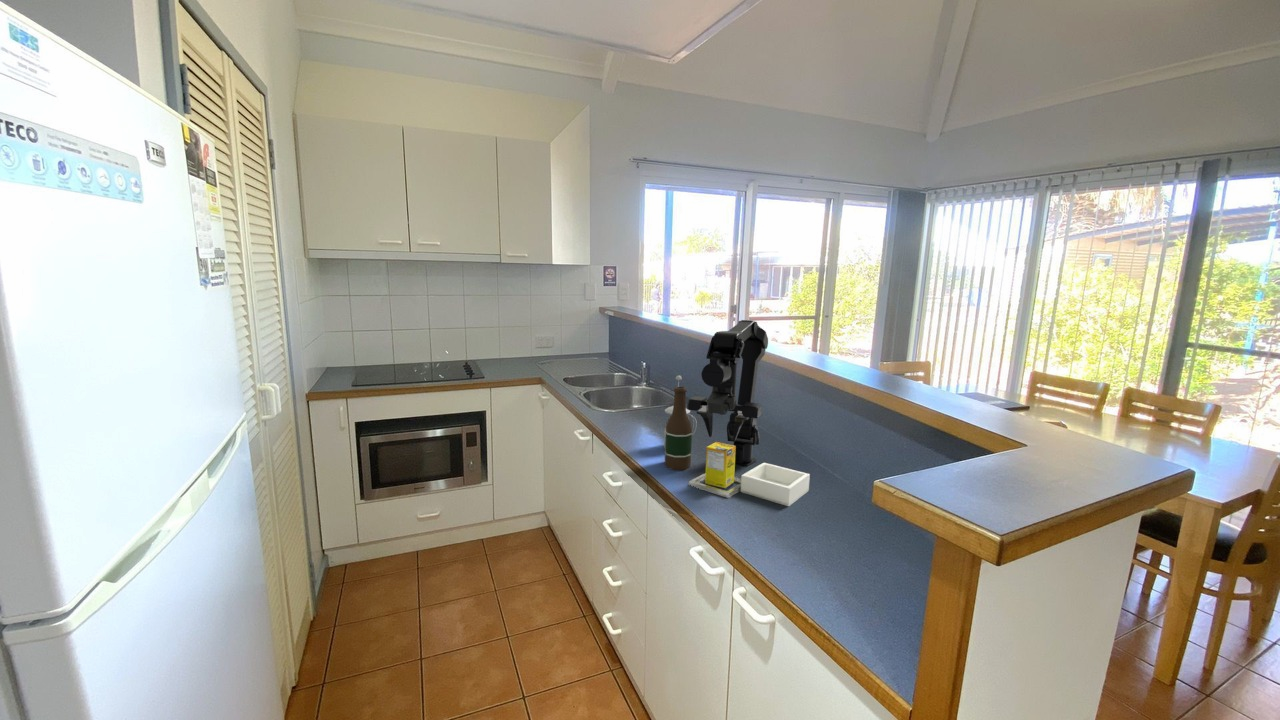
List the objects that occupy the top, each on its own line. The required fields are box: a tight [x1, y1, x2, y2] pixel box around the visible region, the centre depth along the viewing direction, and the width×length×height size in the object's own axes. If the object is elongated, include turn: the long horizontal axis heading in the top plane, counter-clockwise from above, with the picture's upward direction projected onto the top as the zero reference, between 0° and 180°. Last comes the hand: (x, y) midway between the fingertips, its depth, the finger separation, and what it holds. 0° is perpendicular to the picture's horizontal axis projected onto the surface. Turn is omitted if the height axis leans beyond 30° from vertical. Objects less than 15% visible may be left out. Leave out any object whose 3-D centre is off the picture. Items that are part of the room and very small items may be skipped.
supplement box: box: [704, 441, 736, 491], centre depth 135 cm, size 6×6×11 cm
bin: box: [740, 462, 811, 507], centre depth 133 cm, size 13×13×5 cm
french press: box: [663, 375, 698, 449], centre depth 161 cm, size 10×12×25 cm
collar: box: [688, 472, 742, 499], centre depth 136 cm, size 12×12×1 cm
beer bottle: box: [664, 386, 693, 471], centre depth 147 cm, size 8×8×24 cm
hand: (722, 438), depth 134 cm, fingers open, 6 cm apart
